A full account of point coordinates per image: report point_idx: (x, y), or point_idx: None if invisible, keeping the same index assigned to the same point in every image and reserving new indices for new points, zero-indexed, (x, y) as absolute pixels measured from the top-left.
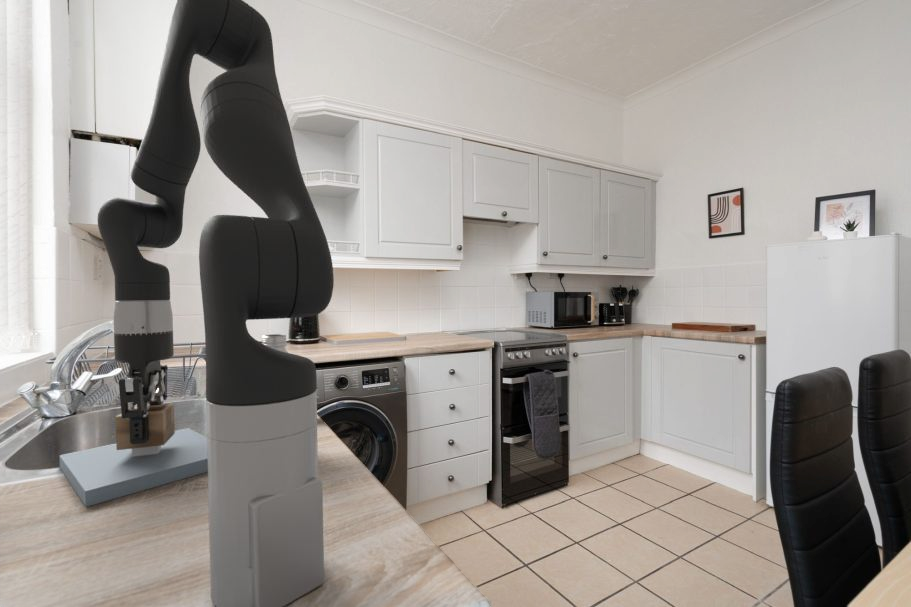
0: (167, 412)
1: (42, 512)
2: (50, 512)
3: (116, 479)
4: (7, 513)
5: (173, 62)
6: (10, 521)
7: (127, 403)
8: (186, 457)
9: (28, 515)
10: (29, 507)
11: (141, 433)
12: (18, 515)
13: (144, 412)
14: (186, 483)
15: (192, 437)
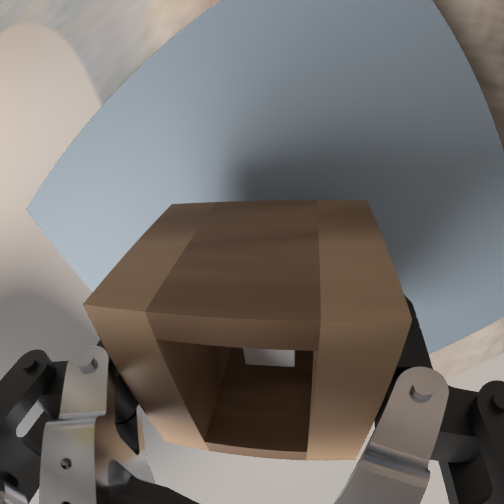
0: (270, 296)
1: (483, 337)
2: (492, 326)
3: (502, 266)
4: (448, 377)
5: None
6: (486, 359)
7: (461, 495)
8: (400, 87)
9: (480, 349)
10: (444, 364)
11: (415, 320)
12: (469, 361)
13: (497, 398)
14: (493, 78)
15: (110, 148)
